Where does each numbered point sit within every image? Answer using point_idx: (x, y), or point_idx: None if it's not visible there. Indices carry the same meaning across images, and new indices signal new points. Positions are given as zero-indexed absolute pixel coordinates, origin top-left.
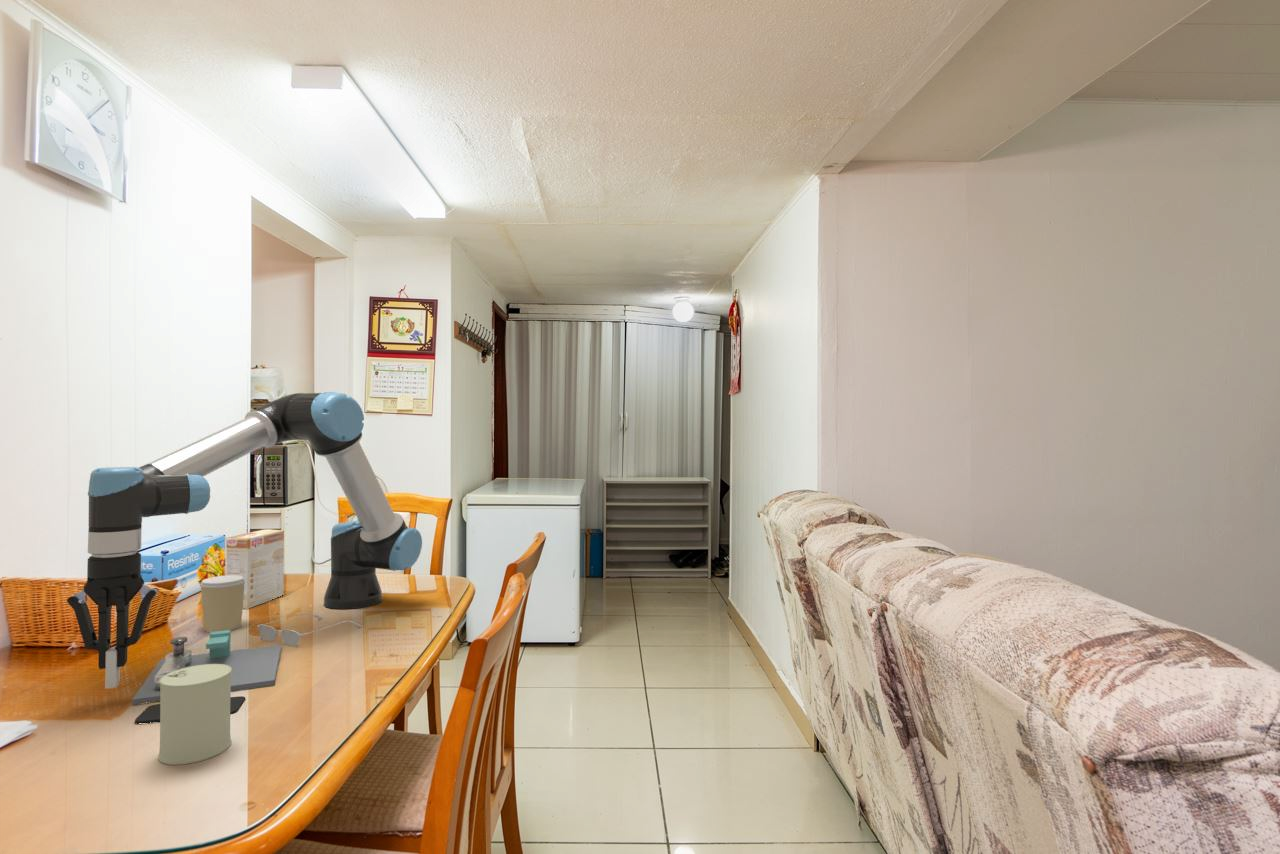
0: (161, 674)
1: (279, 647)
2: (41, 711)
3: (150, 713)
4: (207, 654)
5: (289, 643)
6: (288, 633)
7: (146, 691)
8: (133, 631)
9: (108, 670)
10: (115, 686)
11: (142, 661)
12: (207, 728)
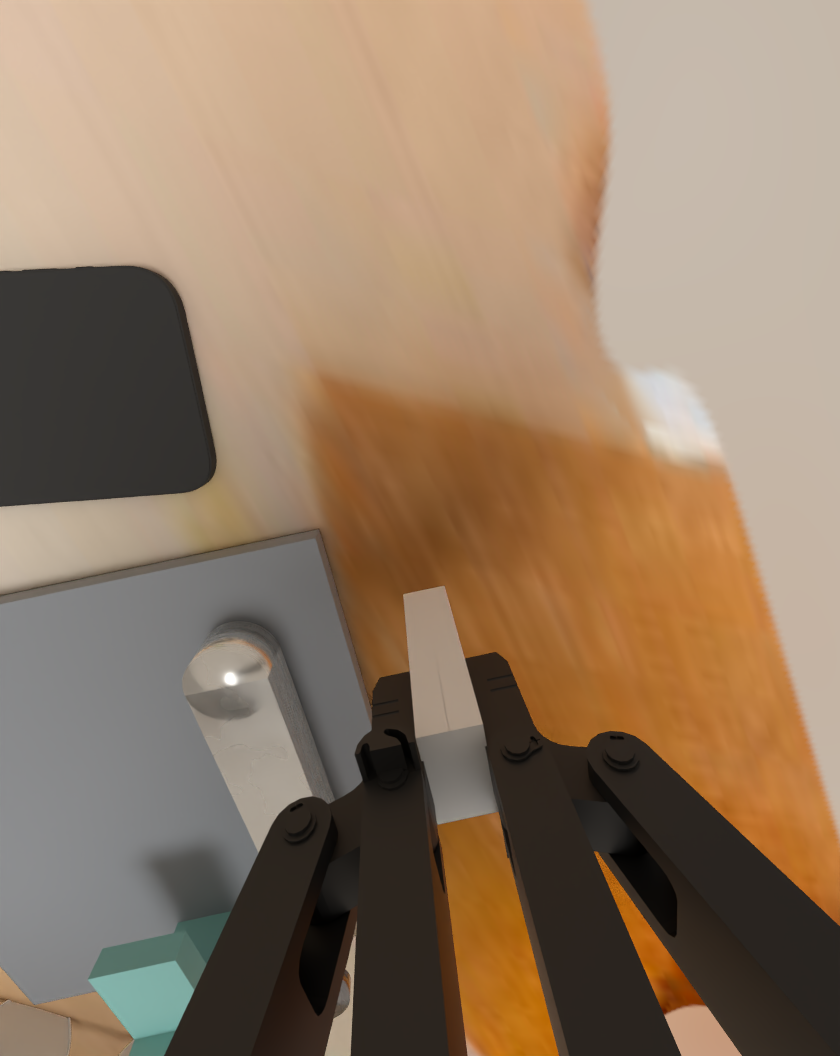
0: (249, 699)
1: (21, 983)
2: (649, 537)
3: (143, 368)
4: None
5: (37, 1019)
6: None
7: (303, 622)
8: (274, 936)
9: (443, 639)
10: (403, 596)
11: (499, 919)
12: None
